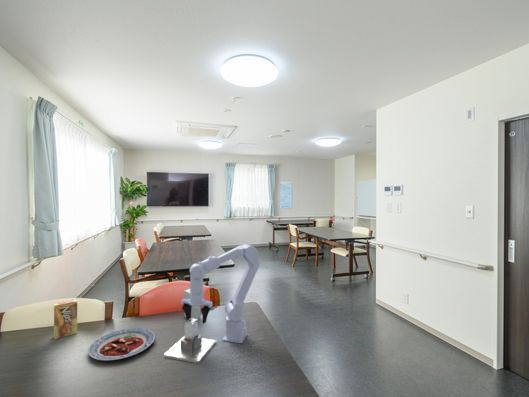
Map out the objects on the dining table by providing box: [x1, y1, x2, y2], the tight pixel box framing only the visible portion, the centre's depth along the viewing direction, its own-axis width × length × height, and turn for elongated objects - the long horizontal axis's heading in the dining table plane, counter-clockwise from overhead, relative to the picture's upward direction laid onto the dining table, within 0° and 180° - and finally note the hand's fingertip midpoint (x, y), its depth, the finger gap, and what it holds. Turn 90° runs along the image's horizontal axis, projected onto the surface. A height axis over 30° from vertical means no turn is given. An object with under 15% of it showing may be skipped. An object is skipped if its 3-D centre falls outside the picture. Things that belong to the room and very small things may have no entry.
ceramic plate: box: [87, 327, 156, 361], centre depth 118 cm, size 26×26×3 cm
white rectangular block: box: [184, 318, 199, 341], centre depth 116 cm, size 4×4×8 cm
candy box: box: [53, 299, 78, 340], centre depth 128 cm, size 9×4×15 cm, turn 129°
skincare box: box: [183, 288, 201, 320], centre depth 147 cm, size 8×6×15 cm
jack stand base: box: [163, 333, 217, 364], centre depth 116 cm, size 16×16×5 cm
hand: (196, 321), depth 120 cm, fingers open, 7 cm apart
